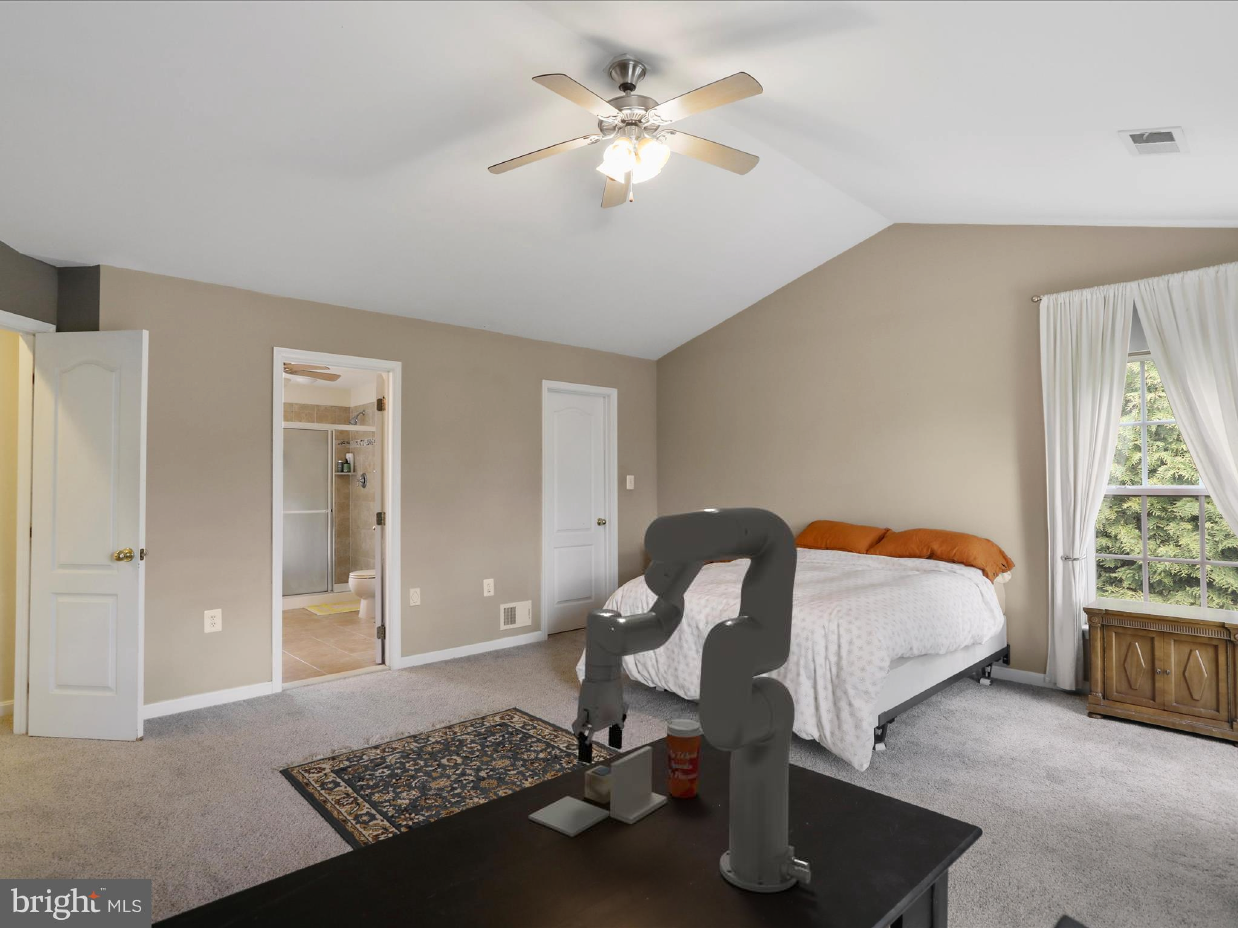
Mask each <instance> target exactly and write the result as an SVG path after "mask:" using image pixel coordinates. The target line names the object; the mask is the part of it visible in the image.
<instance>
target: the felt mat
mask: <svg viewBox="0 0 1238 928" xmlns="http://www.w3.org/2000/svg"><path fill="white" fill-rule="evenodd" d="M609 816H610V811H609V810H606V809H605V808H604V809H603V808H601V807H598V806H595V805H593V804H590V803H588V802H585V801H582V800H581V799H577V798H574V797H572V796H569V795H567V796H565V797H563V798H561V799H559V800H557V801H554V802H553V803H550V804H548V805H547V806H544V807H543V808H541V809H539V810H537V811H535V812H533V813H531V814H529V815H528V819H529V820H531V821H534V822H535V823H538V824H541V825H542V826H546V827H548V828H550V829H552V830H555V831H557V832H560V833H562V834H565V835H567V836H569V837H571V838H573V837H575V836H576V835H579V834H580V833H581V832H583V831H585V830H587V829H588V828H590V827H592V826H594V825H596V824H597V823H599V822H601V821H603V820H604V819H607V818H608V817H609Z"/></svg>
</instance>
